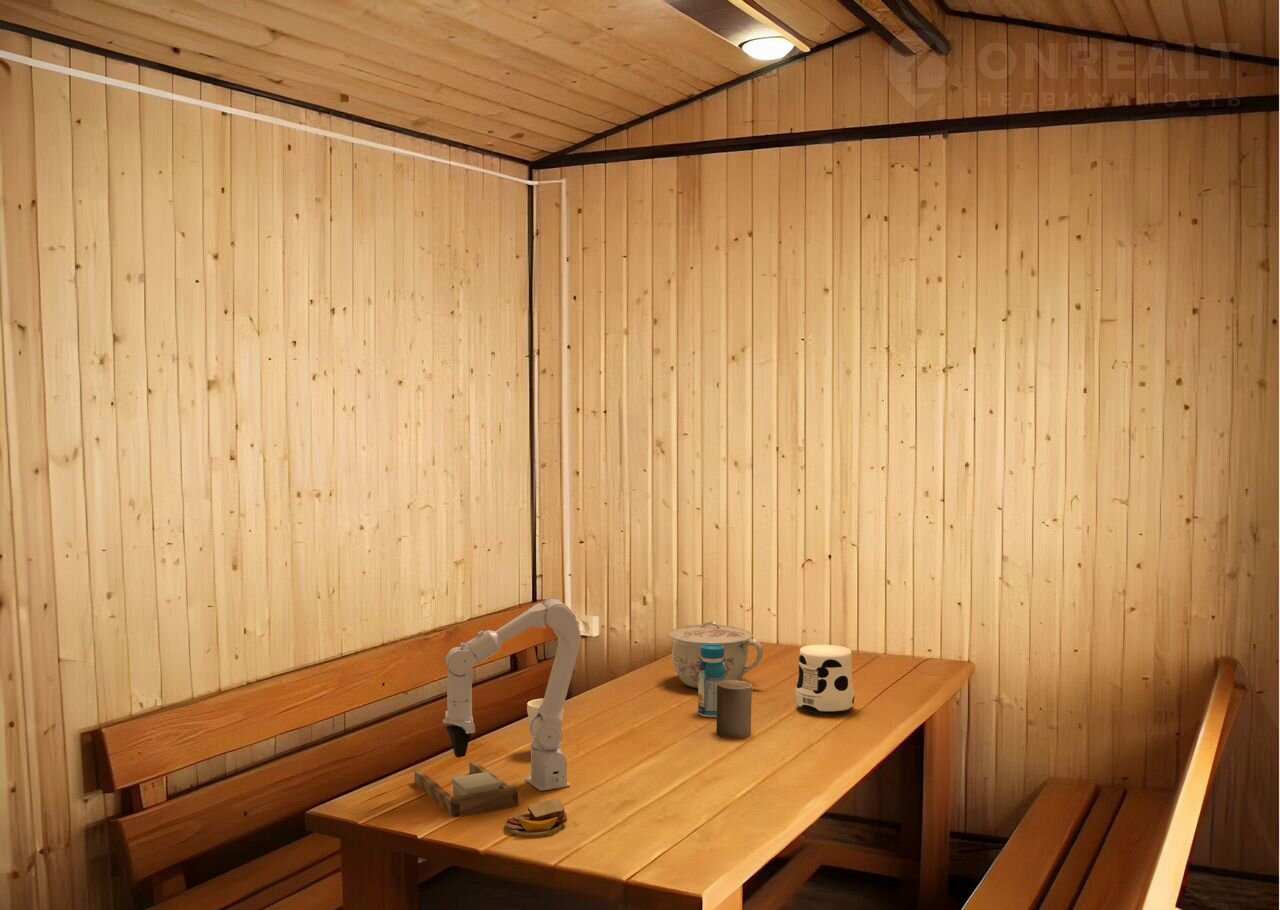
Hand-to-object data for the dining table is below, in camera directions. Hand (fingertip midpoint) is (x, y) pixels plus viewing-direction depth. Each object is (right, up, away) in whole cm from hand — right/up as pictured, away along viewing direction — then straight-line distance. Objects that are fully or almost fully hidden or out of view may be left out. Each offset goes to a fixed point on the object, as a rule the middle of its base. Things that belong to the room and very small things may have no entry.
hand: (460, 756), depth 279 cm
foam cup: (+18, -7, +30) cm, 35 cm away
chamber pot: (+65, -3, +101) cm, 120 cm away
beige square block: (+5, -8, -8) cm, 13 cm away
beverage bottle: (+63, -5, +67) cm, 92 cm away
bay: (+2, -8, -2) cm, 9 cm away
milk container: (+97, -5, +72) cm, 121 cm away
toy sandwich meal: (+20, -10, -23) cm, 32 cm away
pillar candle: (+68, -6, +48) cm, 84 cm away
